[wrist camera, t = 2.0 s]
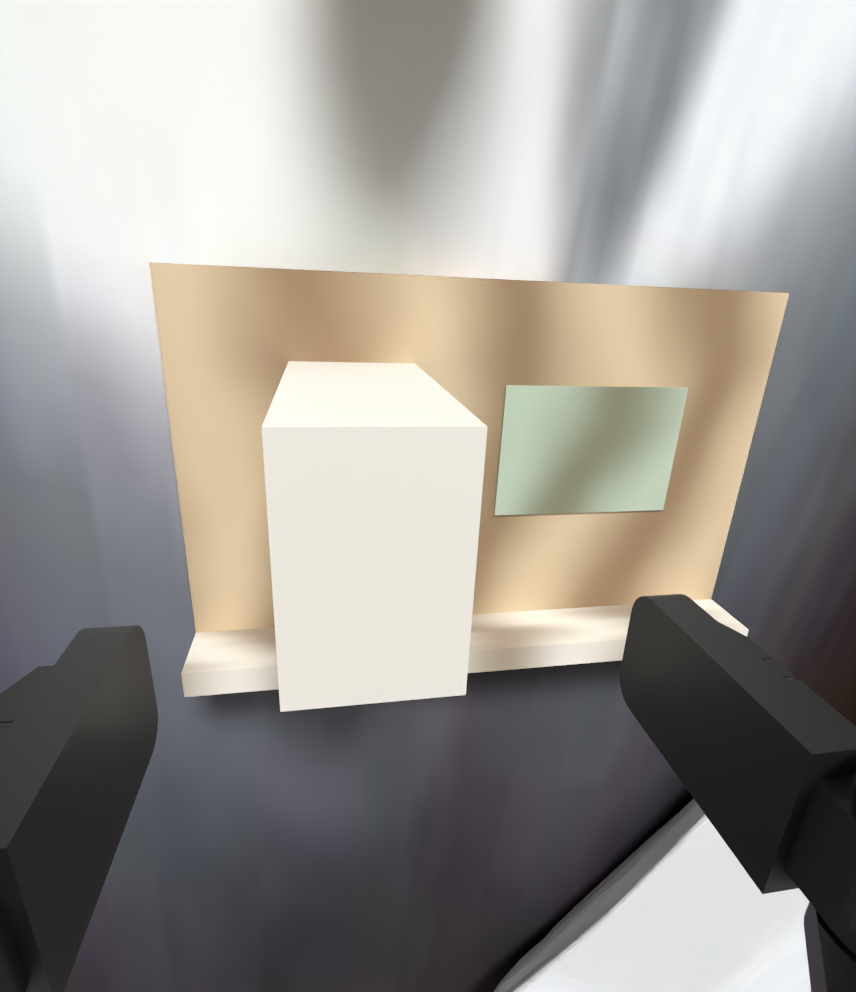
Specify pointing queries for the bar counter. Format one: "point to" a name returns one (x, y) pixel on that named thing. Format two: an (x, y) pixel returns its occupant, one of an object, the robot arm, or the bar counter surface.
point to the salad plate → (673, 925)
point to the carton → (371, 533)
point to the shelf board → (509, 446)
